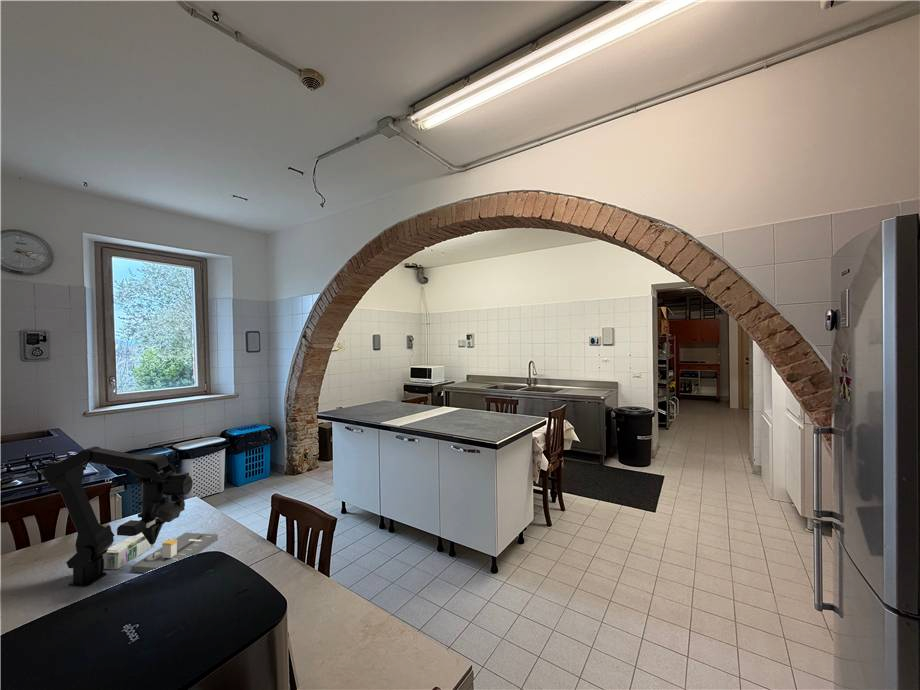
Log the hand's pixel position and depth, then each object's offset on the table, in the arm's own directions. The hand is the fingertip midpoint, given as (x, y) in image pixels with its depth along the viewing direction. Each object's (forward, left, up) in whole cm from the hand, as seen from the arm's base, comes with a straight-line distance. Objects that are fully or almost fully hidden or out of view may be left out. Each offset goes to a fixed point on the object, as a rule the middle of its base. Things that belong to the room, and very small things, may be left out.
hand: (152, 543), depth 121 cm
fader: (+7, 0, -7) cm, 10 cm away
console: (+12, +1, -10) cm, 15 cm away
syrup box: (+16, +17, -7) cm, 24 cm away
